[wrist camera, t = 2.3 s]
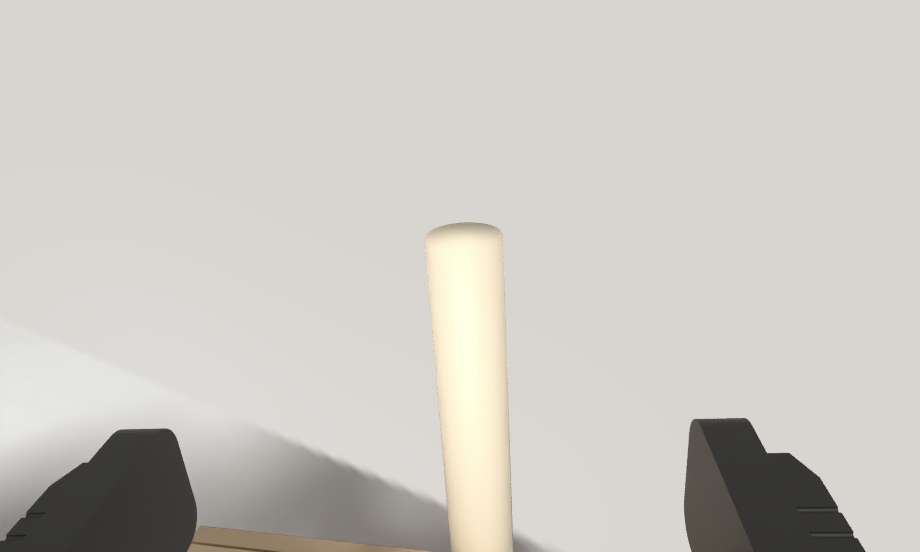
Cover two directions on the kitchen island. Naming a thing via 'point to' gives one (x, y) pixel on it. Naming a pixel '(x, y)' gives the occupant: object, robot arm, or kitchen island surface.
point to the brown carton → (212, 549)
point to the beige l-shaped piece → (450, 400)
